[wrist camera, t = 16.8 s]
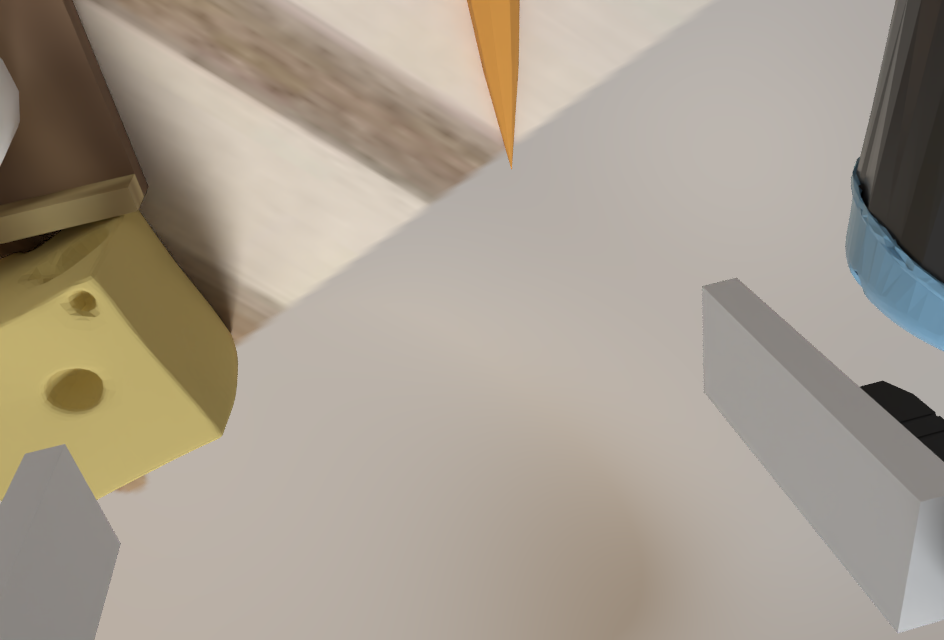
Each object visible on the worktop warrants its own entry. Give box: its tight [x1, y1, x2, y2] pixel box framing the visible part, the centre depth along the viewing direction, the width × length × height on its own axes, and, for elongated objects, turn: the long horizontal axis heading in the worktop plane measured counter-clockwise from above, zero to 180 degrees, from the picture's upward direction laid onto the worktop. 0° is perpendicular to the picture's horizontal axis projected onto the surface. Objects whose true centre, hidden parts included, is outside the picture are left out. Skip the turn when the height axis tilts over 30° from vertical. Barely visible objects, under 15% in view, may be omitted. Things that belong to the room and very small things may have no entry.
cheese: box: [0, 210, 238, 501], centre depth 38 cm, size 10×11×10 cm
